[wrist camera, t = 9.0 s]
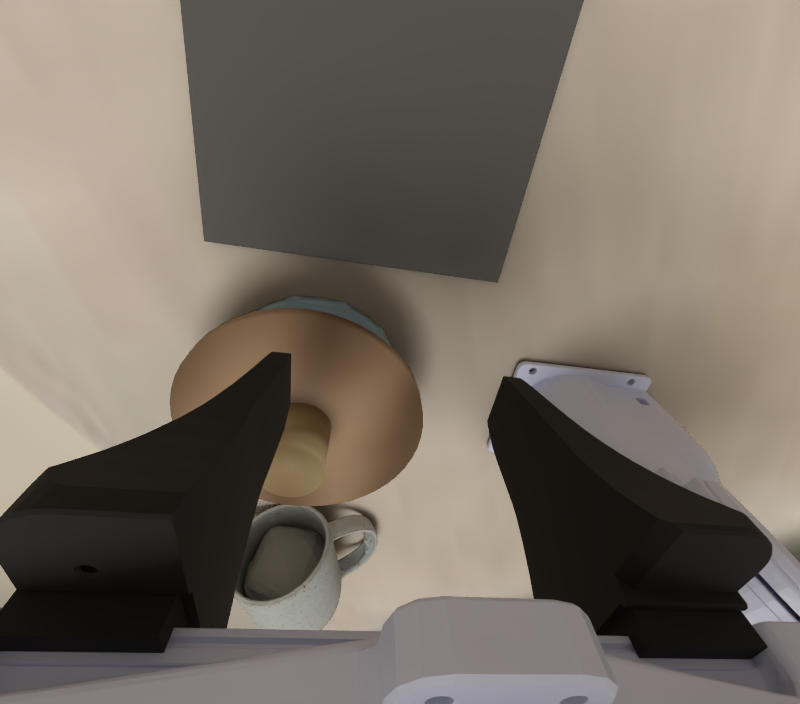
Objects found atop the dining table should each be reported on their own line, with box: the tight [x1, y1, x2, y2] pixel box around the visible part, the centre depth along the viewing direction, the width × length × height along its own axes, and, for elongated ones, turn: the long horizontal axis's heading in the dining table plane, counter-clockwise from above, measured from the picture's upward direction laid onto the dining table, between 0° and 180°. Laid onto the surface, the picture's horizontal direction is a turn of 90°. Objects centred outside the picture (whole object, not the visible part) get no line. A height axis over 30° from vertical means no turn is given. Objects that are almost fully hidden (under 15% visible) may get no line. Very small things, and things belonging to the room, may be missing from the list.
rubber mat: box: [180, 0, 584, 282], centre depth 17 cm, size 16×14×1 cm
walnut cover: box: [170, 308, 423, 506], centre depth 19 cm, size 13×13×4 cm
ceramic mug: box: [234, 504, 377, 630], centre depth 30 cm, size 11×8×8 cm
